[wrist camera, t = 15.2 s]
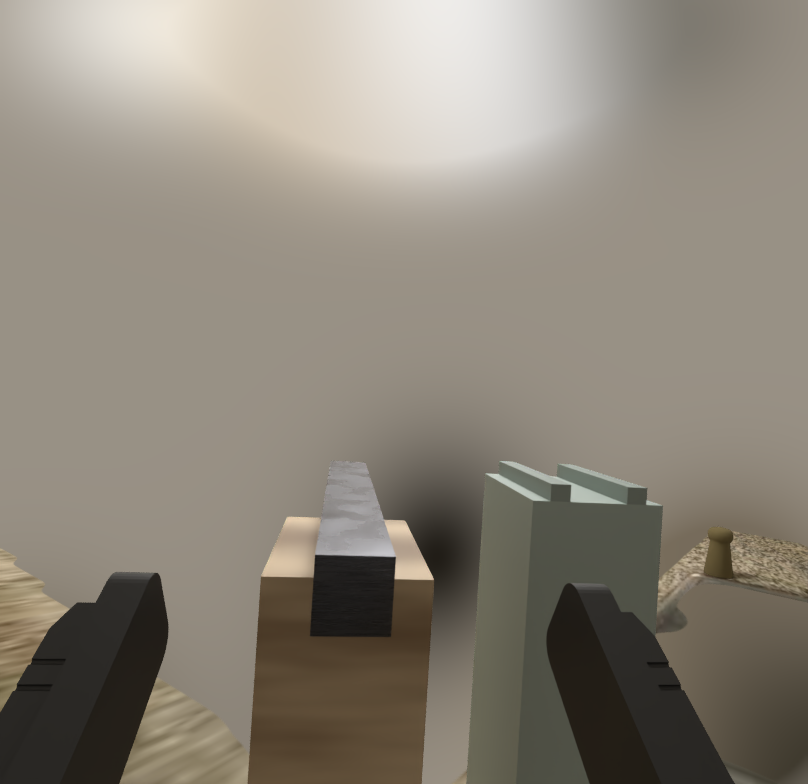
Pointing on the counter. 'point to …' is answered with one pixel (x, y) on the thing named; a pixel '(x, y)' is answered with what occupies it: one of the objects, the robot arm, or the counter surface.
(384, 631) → the lever bar
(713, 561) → the cork
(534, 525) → the frame
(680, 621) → the counter surface
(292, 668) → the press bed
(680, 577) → the counter surface
